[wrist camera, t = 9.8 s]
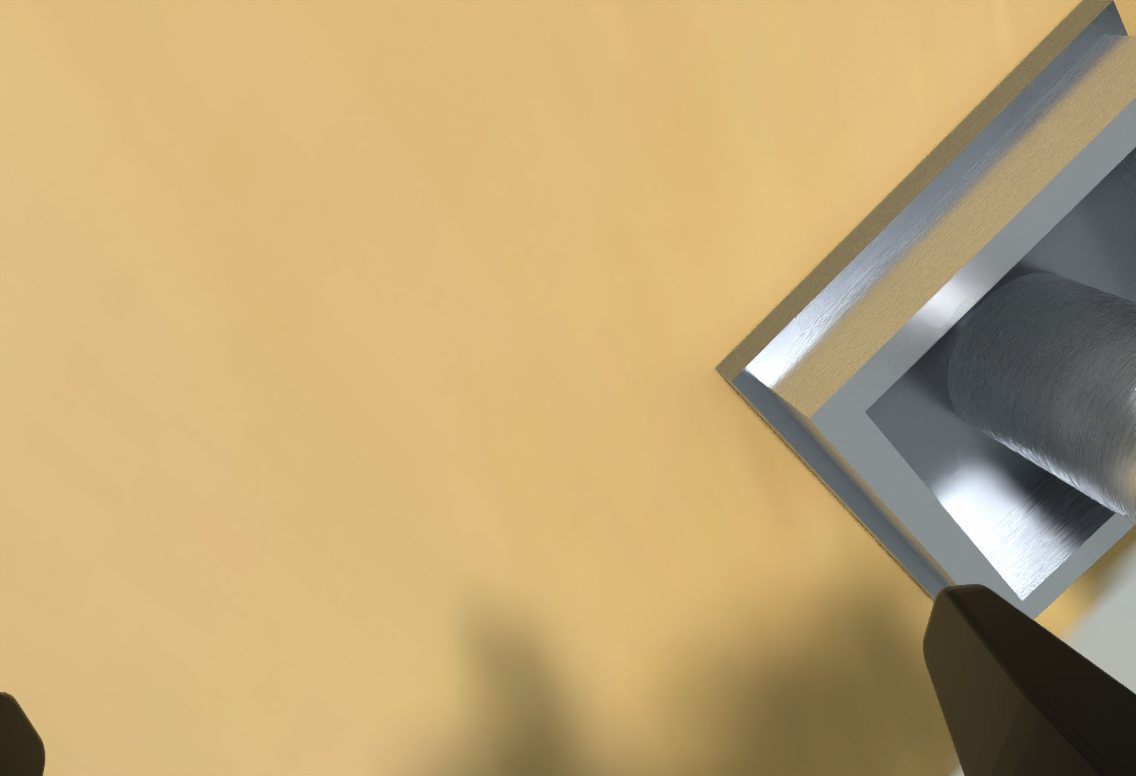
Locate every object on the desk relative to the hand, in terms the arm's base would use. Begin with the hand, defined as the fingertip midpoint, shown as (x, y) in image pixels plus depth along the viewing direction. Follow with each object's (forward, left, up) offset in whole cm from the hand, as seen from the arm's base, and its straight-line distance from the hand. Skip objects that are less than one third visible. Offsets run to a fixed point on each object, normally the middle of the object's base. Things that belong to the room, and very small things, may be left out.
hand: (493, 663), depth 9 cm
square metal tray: (+10, -13, -11) cm, 20 cm away
